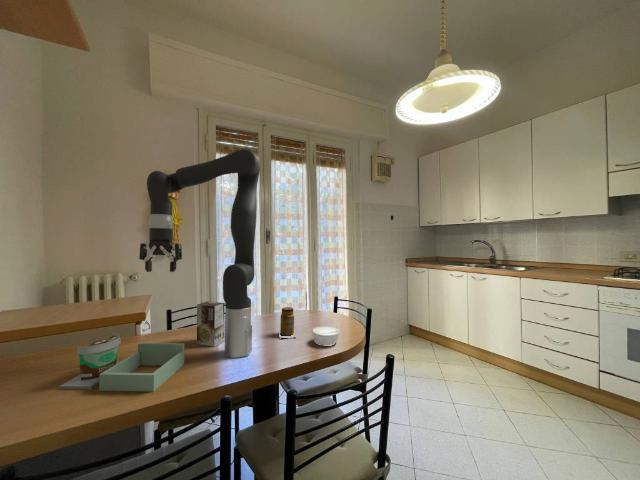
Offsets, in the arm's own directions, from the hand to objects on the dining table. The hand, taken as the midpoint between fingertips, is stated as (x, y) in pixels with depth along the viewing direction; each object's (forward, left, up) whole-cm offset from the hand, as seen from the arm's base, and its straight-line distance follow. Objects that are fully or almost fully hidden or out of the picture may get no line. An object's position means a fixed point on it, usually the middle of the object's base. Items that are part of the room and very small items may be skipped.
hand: (160, 271), depth 102 cm
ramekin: (-61, -14, -30) cm, 70 cm away
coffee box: (-14, -12, -30) cm, 35 cm away
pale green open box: (-5, +16, -30) cm, 35 cm away
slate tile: (+9, +16, -30) cm, 35 cm away
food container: (+7, +16, -29) cm, 34 cm away
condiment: (-44, -22, -30) cm, 58 cm away
